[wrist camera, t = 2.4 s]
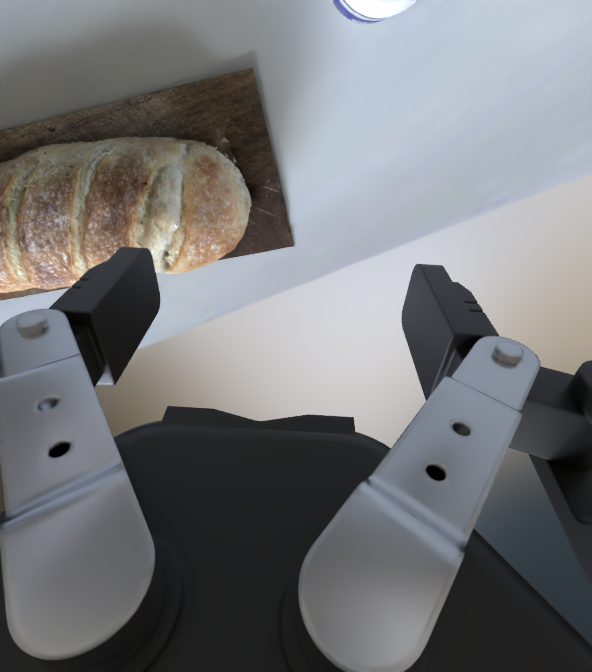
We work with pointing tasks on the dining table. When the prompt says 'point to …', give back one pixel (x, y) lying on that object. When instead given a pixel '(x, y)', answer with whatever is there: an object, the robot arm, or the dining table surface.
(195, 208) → the bread loaf
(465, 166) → the dining table surface
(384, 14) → the pill bottle
